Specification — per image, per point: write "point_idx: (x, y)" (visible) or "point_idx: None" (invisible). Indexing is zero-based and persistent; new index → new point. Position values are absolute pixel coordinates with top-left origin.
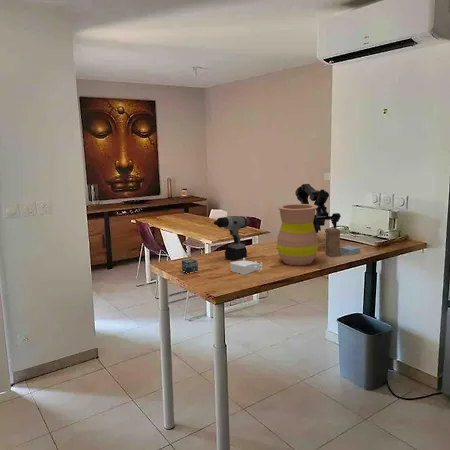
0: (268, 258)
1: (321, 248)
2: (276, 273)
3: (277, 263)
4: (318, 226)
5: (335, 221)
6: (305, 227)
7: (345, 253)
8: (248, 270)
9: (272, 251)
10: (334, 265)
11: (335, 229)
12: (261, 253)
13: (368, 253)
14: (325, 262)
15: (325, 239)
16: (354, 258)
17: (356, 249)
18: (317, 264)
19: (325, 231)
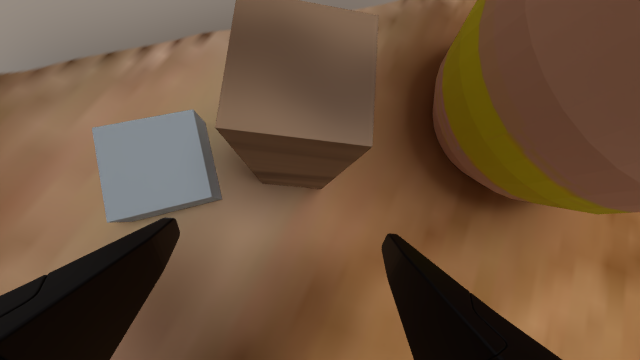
0: (595, 221)
1: (274, 334)
2: None
3: None
4: (438, 272)
5: (13, 314)
6: None
7: (211, 154)
8: None
9: (559, 357)
10: (370, 9)
11: (275, 40)
12: (615, 331)
13: (79, 112)
14: (385, 60)
15: (339, 172)
16: (224, 60)
17: (135, 122)
18: (429, 50)
19: (359, 156)
